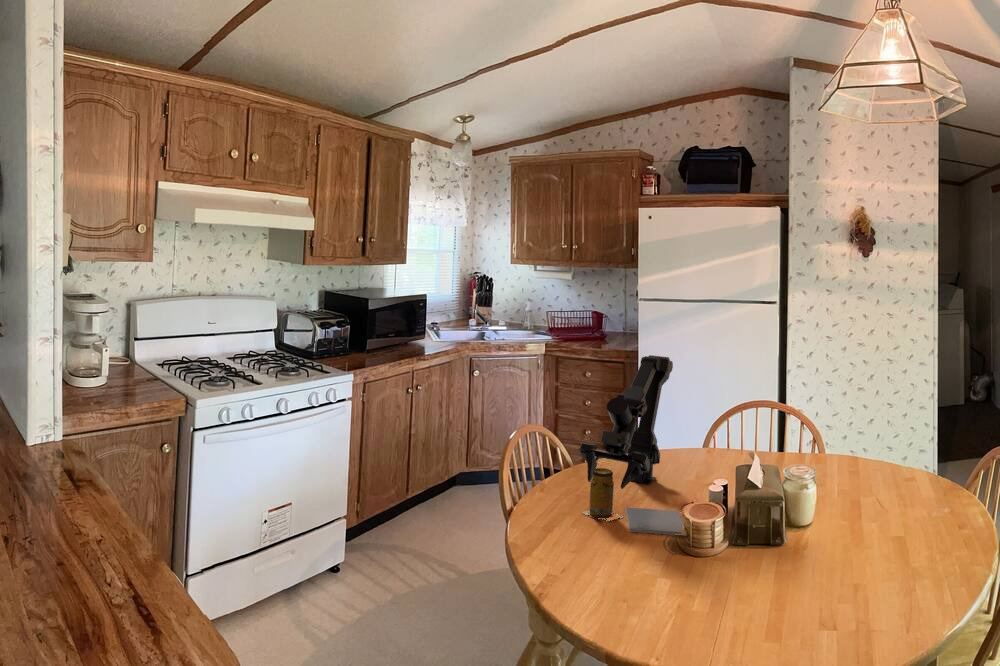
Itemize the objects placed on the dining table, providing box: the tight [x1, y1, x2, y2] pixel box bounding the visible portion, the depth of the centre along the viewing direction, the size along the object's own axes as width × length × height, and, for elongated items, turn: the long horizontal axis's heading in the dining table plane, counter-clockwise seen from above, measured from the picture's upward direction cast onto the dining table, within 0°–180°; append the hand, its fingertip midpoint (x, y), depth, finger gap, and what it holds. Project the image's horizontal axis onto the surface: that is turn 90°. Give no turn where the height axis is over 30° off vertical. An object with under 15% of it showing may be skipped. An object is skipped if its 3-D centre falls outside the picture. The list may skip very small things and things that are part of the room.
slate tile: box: [625, 506, 684, 536], centre depth 176 cm, size 14×14×1 cm
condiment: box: [582, 467, 624, 524], centre depth 179 cm, size 7×8×12 cm
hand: (604, 484), depth 179 cm, fingers open, 9 cm apart
